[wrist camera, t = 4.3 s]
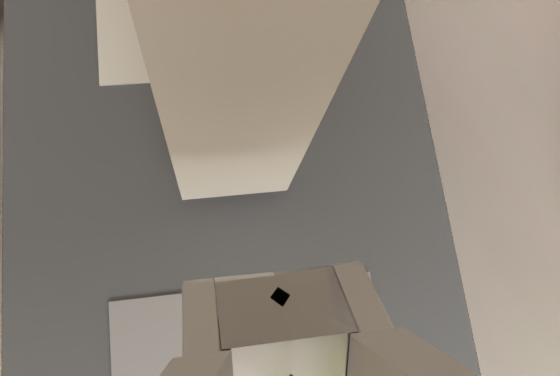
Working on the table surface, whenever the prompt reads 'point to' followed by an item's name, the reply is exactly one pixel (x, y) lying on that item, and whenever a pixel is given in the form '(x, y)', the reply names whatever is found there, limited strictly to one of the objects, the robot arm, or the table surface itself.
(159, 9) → the breaker lever
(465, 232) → the table surface
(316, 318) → the robot arm
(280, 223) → the switch box
